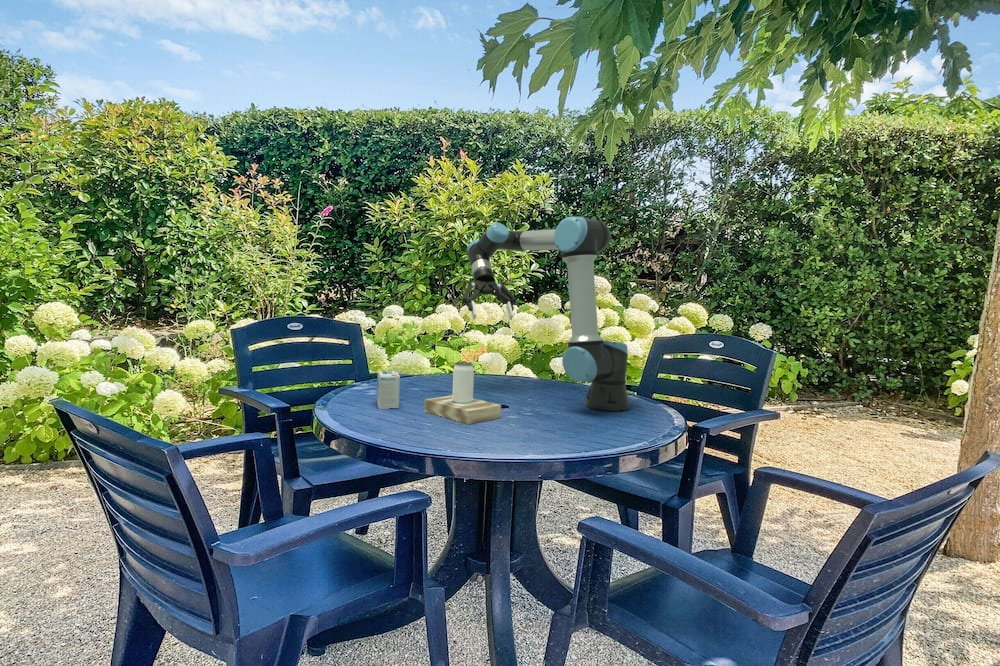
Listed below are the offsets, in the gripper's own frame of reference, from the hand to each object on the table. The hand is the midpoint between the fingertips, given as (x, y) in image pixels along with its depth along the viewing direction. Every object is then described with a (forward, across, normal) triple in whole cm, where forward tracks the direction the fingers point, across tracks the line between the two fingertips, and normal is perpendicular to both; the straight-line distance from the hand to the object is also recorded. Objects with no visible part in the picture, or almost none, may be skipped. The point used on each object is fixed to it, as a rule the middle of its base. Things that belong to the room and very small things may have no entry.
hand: (493, 317), depth 214 cm
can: (+34, +16, -2) cm, 37 cm away
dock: (+37, +16, -5) cm, 40 cm away
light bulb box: (+25, +37, -16) cm, 48 cm away
